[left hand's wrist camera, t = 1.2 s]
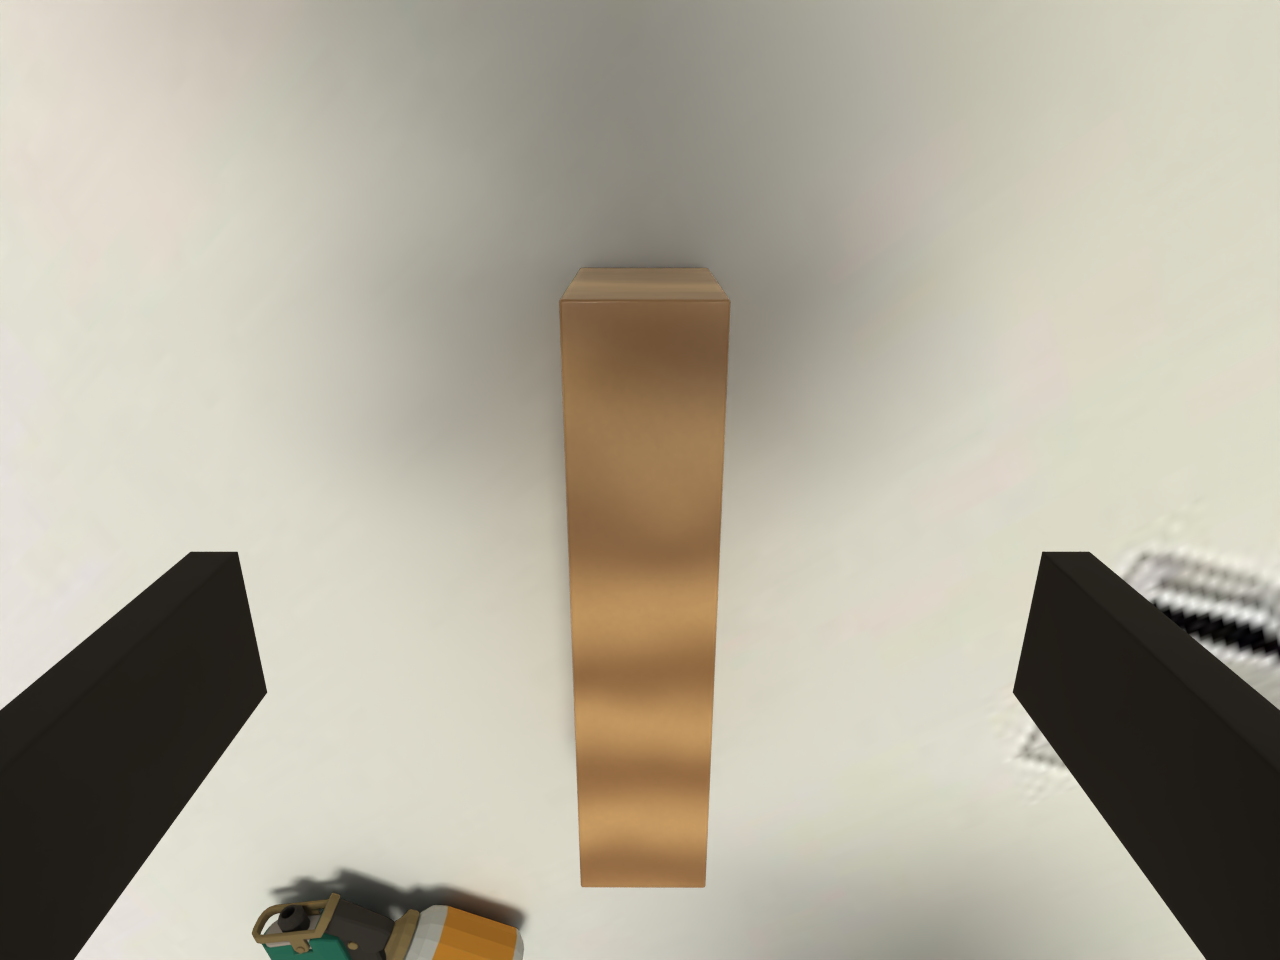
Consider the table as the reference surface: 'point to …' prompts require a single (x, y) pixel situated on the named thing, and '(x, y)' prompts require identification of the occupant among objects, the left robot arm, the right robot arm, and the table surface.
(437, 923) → the spray gun
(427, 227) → the table surface
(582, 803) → the bar
